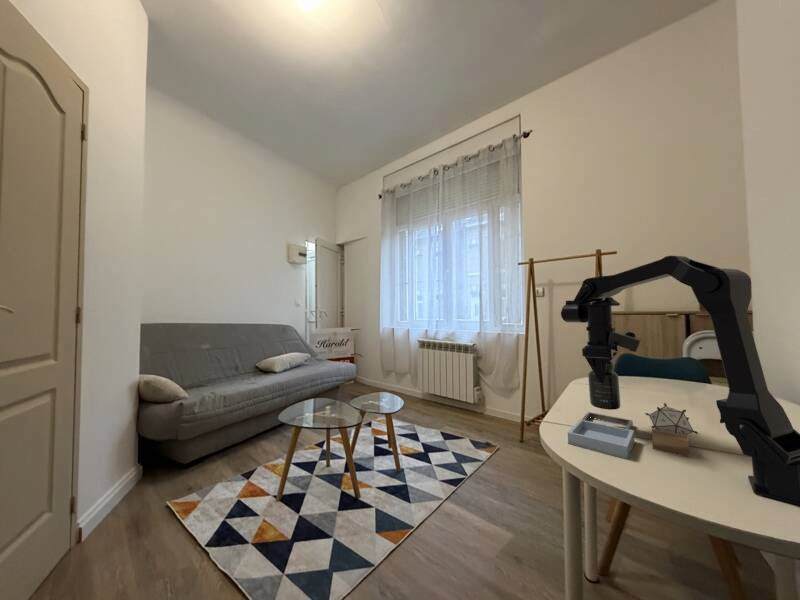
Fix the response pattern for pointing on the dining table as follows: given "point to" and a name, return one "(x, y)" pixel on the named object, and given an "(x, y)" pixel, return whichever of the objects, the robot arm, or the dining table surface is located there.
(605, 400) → the supplement bottle
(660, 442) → the block
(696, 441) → the dining table surface
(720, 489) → the dining table surface
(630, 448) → the parts tray
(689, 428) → the game die
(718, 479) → the dining table surface
